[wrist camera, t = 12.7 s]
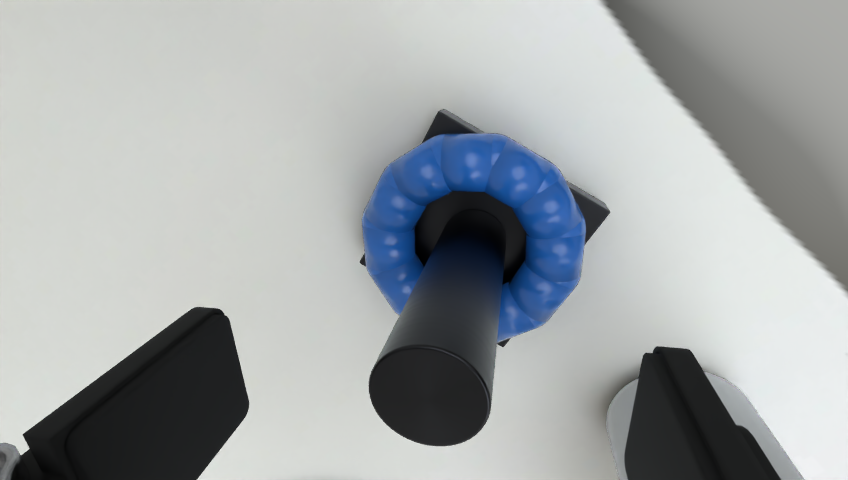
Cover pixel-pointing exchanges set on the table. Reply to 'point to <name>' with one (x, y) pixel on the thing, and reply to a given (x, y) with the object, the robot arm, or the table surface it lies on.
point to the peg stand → (454, 312)
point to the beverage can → (735, 406)
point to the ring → (503, 180)
